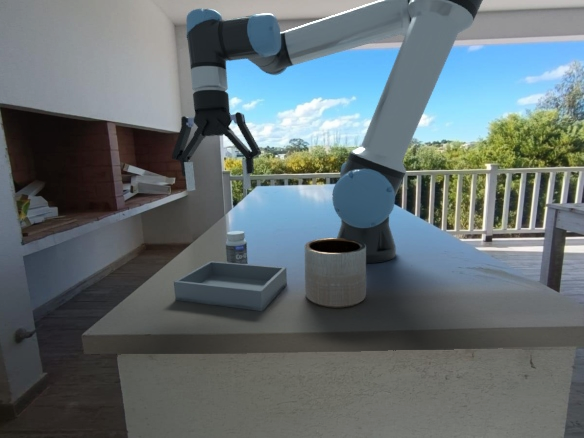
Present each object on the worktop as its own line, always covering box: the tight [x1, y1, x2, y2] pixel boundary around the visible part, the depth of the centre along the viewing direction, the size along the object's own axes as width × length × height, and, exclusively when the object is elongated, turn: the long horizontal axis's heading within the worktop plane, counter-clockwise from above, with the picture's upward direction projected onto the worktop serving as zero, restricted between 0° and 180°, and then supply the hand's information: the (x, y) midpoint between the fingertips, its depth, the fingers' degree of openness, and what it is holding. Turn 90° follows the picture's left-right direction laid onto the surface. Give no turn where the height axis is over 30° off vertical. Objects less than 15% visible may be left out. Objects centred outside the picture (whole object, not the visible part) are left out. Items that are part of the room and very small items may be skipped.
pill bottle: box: [225, 230, 248, 264], centre depth 77 cm, size 5×5×8 cm
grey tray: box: [173, 260, 288, 312], centre depth 64 cm, size 17×12×4 cm
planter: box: [304, 237, 367, 309], centre depth 60 cm, size 11×11×10 cm
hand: (219, 189), depth 77 cm, fingers open, 13 cm apart
